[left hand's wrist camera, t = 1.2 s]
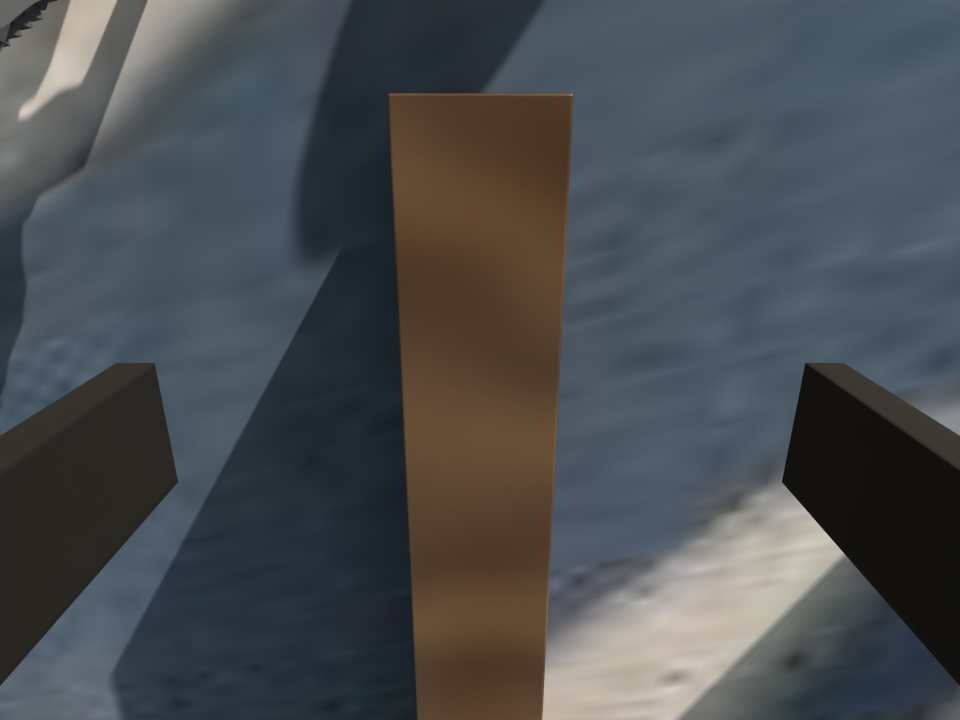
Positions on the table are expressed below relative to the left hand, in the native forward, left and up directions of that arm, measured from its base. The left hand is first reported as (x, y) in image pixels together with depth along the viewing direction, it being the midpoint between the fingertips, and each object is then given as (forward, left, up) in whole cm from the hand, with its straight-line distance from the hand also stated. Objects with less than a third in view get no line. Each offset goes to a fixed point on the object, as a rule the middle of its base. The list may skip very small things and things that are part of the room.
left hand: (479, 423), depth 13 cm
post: (+7, +21, -14) cm, 26 cm away
